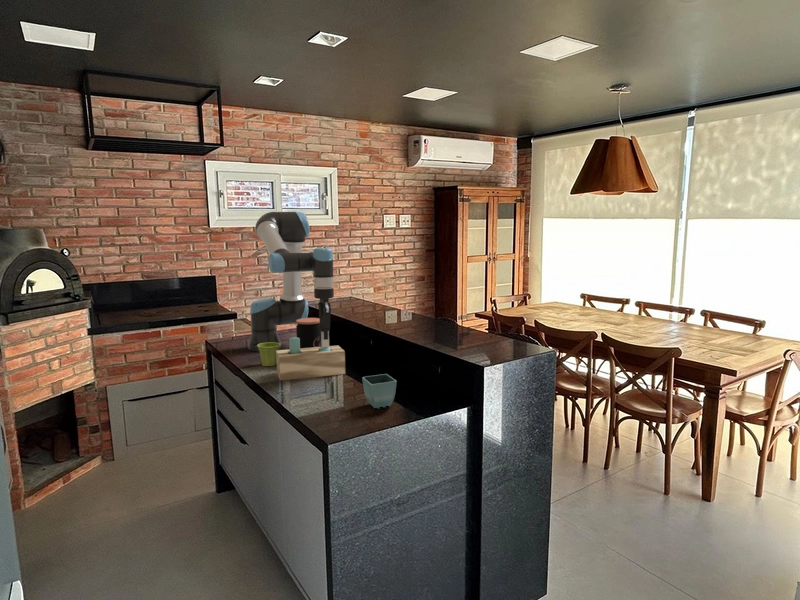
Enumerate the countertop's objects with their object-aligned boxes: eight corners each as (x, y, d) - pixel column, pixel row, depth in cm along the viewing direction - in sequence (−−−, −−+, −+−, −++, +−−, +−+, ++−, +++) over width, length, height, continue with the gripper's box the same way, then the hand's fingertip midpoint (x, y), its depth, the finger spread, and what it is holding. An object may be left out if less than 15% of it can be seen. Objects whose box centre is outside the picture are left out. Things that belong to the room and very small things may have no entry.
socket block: (277, 372, 203) (276, 350, 201) (338, 366, 211) (338, 345, 210) (280, 380, 192) (279, 357, 191) (345, 373, 201) (344, 351, 200)
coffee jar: (317, 364, 214) (316, 322, 212) (293, 363, 216) (292, 321, 214) (326, 358, 225) (325, 318, 222) (303, 357, 227) (301, 317, 224)
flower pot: (371, 412, 159) (371, 384, 158) (361, 403, 167) (361, 376, 166) (397, 408, 162) (397, 380, 161) (386, 399, 170) (386, 373, 169)
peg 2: (319, 366, 205) (319, 346, 204) (329, 365, 206) (329, 346, 205) (321, 369, 201) (321, 349, 200) (331, 368, 202) (331, 348, 201)
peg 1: (289, 357, 200) (288, 337, 199) (299, 356, 201) (298, 337, 200) (290, 360, 196) (289, 339, 195) (301, 359, 198) (300, 339, 197)
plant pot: (272, 360, 221) (271, 341, 220) (285, 364, 215) (284, 344, 214) (253, 365, 214) (252, 345, 213) (267, 369, 208) (266, 348, 207)
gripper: (311, 286, 204) (313, 344, 207) (317, 290, 192) (319, 351, 195) (329, 285, 206) (331, 343, 210) (337, 289, 194) (338, 349, 198)
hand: (325, 347), depth 202 cm, fingers closed
